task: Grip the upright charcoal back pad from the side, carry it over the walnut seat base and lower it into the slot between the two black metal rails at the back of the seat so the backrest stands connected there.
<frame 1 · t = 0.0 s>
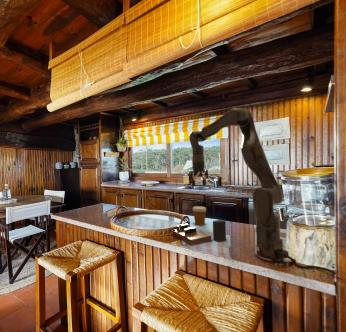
hand: (199, 185, 139), 29 cm above the countertop, tool pointing down, fingers open, 8 cm apart
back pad: (219, 239, 121), on the countertop
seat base: (191, 237, 126), on the countertop
disposable coffee cup: (199, 224, 152), on the countertop
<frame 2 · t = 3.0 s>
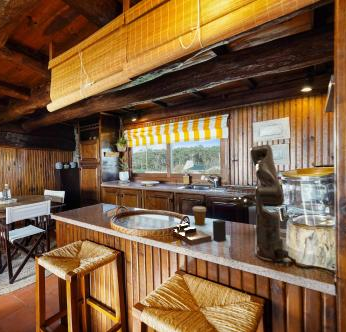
hand: (232, 203, 125), 20 cm above the countertop, tool horizontal, fingers open, 8 cm apart
nothing on the countertop moved.
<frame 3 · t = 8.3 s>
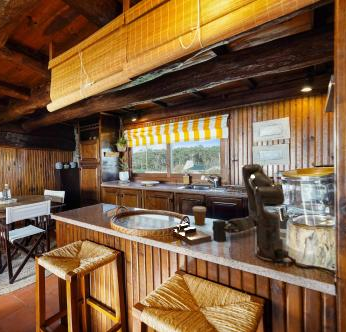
hand: (215, 229, 120), 6 cm above the countertop, tool horizontal, fingers closed on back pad, 3 cm apart
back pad: (219, 240, 121), on the countertop, touching gripper
everything else where it was.
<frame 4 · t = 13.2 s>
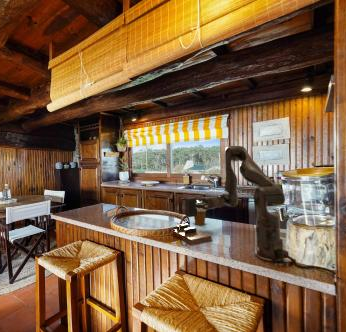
hand: (187, 205, 128), 19 cm above the countertop, tool horizontal, fingers closed on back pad, 3 cm apart
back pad: (191, 215, 129), point 12 cm above the countertop, touching gripper
everything else where it was.
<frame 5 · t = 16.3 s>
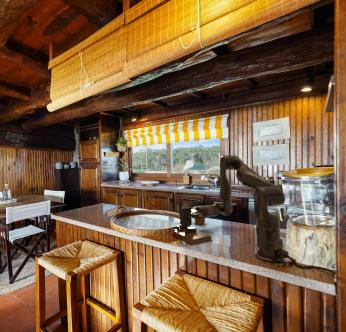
hand: (181, 215, 129), 13 cm above the countertop, tool horizontal, fingers closed on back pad, 3 cm apart
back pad: (186, 225, 131), point 6 cm above the countertop, touching gripper
everything else where it was.
when the fingers open (10 cm above the countertop, at t = 18.4 s): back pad stays where it is, resting on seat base.
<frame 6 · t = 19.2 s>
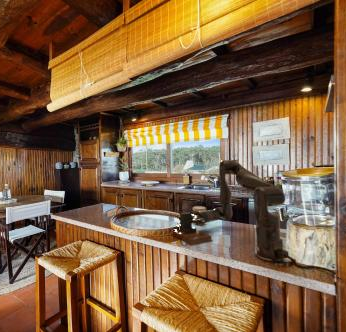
hand: (183, 220, 130), 10 cm above the countertop, tool horizontal, fingers open, 8 cm apart
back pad: (186, 230, 131), point 3 cm above the countertop, touching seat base
everything else where it was.
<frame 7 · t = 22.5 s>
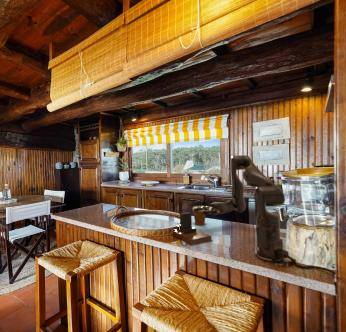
hand: (198, 211, 134), 14 cm above the countertop, tool horizontal, fingers open, 8 cm apart
nothing on the countertop moved.
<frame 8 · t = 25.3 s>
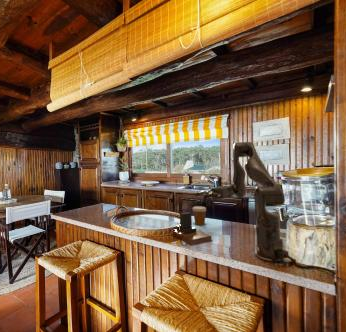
hand: (199, 195, 134), 24 cm above the countertop, tool horizontal, fingers open, 8 cm apart
nothing on the countertop moved.
at the end: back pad 0.1 cm from the target spot on the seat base, point 3.0 cm above the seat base's base; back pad tilted 0°; the gripper is holding nothing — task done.
